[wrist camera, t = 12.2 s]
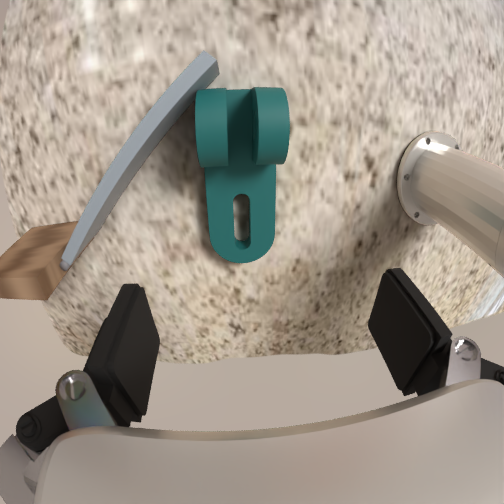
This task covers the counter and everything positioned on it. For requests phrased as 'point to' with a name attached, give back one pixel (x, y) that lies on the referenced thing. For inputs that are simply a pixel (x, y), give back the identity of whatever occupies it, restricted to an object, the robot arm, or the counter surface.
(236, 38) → the counter surface
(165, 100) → the door
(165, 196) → the counter surface
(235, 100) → the bracket
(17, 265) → the brown wooden block
